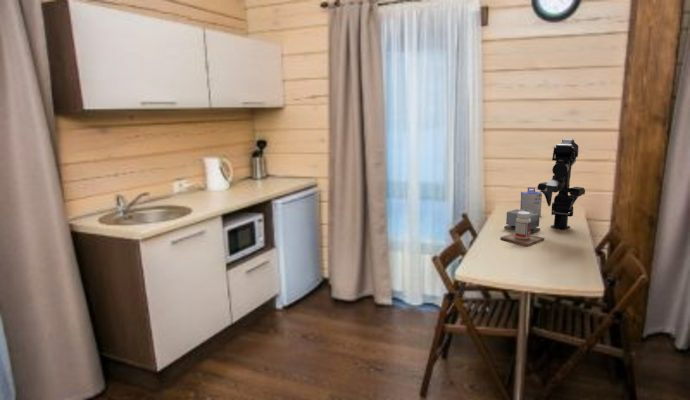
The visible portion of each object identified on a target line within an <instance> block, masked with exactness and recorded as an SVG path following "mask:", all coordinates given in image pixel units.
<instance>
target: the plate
mask: <svg viewBox="0 0 690 400" xmlns="http://www.w3.org/2000/svg"><path fill="white" fill-rule="evenodd" d="M500 240H502V241H505V242H509V243H513V244H515V245H519V244H520V245H519V246H523V245H524V246H523V247H529V245H530V246H533V245H535V244H538V243H540V241H541V242H543V241H545V237H541V236H538V235H534V234H530V238H529V239H518V238H516V237H515V232H512V233H510V234H509V233H508V234H506V235H503V236H500ZM537 242H538V243H537ZM534 243H535V244H534ZM532 244H533V245H532Z"/></svg>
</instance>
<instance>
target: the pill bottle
mask: <svg viewBox="0 0 690 400" xmlns="http://www.w3.org/2000/svg"><path fill="white" fill-rule="evenodd" d="M517 216H518V218H517V219H516V229H515V231H514V233H515V237H516V238H518V239H529V238H530V235H531V234H530V231H531V219H530V218H529V217H530V212H526V211H519V212H518V214H517Z"/></svg>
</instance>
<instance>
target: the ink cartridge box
mask: <svg viewBox="0 0 690 400" xmlns="http://www.w3.org/2000/svg"><path fill="white" fill-rule="evenodd" d="M542 200H543V193H542V192H540V191H536V188H535V187H532V186H531V187H527V191H520V209H519V210H523V211H528V212H533V213H538V214H540V217H541V216H542Z"/></svg>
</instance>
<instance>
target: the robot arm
mask: <svg viewBox="0 0 690 400" xmlns="http://www.w3.org/2000/svg"><path fill="white" fill-rule="evenodd" d="M577 158H579V145H578V144H577V143H576V142H575V138H574V139H573V138H562V140H561V143H556V144H555V146H554V147H553V153H552V157H551V160H552V161H555V164H554V165H553V167H552V174H553V175H552V178H551V180H549V181H548V182H545V181H544V182H539V183H538V184H537V188H536V189H537V190H538V191H539V192H541V193H542V195H544V198H545V200H546V203H547V204H546V205H547V206H548V207H550V206H551V216H554V219H553V220H554V221H553V225H550V228H553V229H558V230H563V231H564V230H567V229H570V228H571V226H570V225H568V221H569V217H573V216H574V206H573V205H574V204H575V203H576V201H577V200H578V199H579V197H581V196H583V195H585V194H586V190H585V188H584V187H581V186H573V187H570V186H571V184H570V182H571V177H572V176H571V173H572V166H573V165H574V164H575V163H576V161H577ZM553 193H554V194H555V193H556V195H555V196H554V198H553ZM552 199H554V200H553V202H552Z"/></svg>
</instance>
